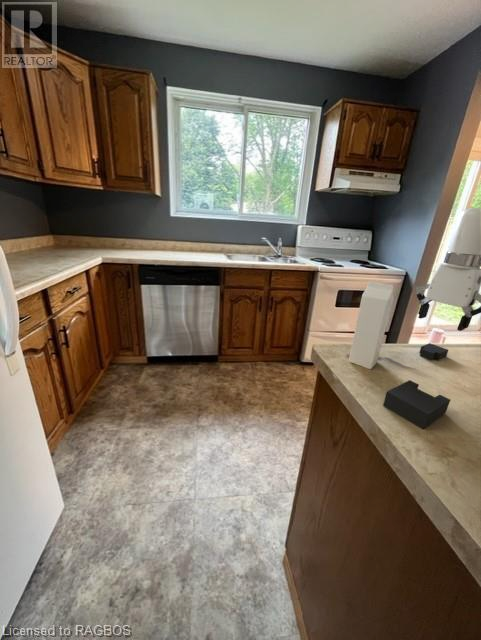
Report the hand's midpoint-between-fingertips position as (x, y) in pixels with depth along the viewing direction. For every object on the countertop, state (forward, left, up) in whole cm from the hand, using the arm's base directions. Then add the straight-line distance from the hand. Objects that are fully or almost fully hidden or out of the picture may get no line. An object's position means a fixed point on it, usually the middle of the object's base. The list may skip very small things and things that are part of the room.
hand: (440, 323), depth 75 cm
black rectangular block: (0, 0, -11) cm, 11 cm away
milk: (+20, -8, -11) cm, 24 cm away
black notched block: (+29, +10, -11) cm, 32 cm away
